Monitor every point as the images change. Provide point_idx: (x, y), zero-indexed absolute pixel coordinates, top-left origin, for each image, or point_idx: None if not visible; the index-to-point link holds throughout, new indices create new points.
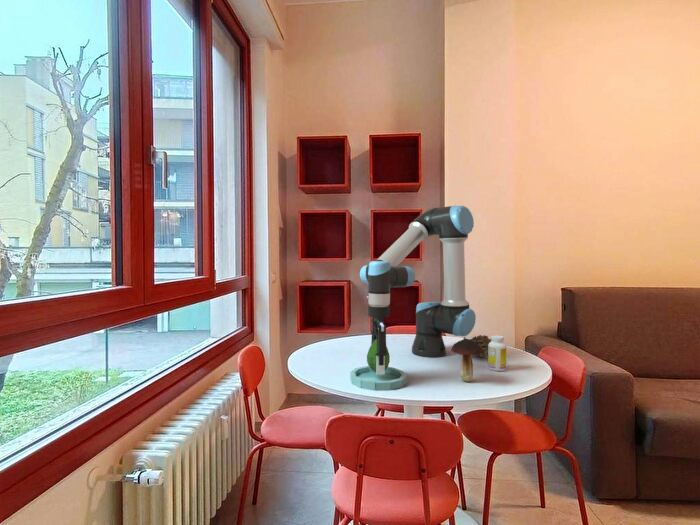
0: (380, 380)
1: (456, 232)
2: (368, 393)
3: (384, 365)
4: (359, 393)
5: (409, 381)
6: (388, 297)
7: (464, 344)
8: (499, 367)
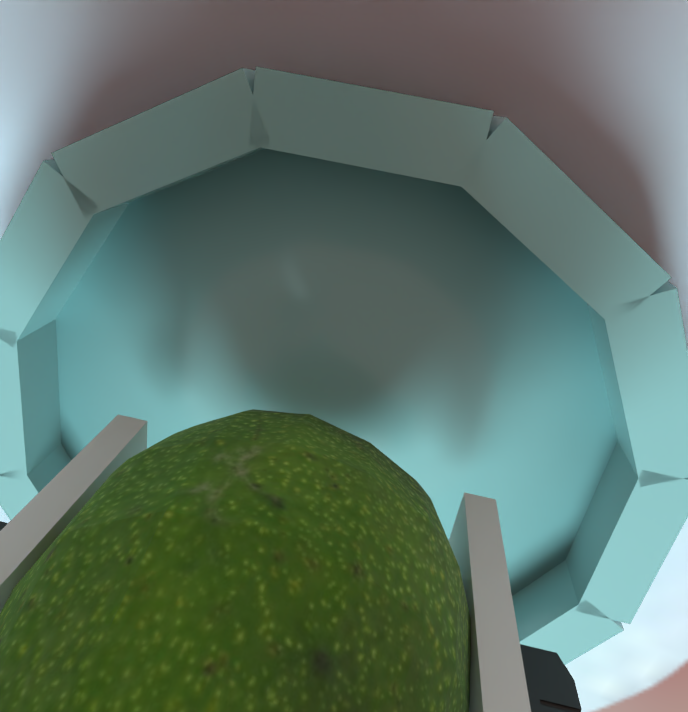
0: (394, 445)
1: None
2: (646, 638)
3: (512, 605)
4: (608, 692)
5: (461, 36)
6: None
7: None
8: None
